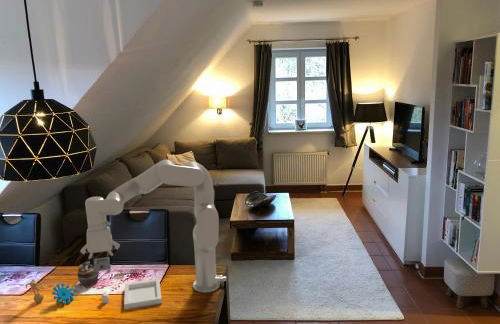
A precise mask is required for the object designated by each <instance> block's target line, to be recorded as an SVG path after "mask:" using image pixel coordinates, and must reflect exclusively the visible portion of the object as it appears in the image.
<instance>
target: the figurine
mask: <svg viewBox="0 0 500 324" xmlns="http://www.w3.org/2000/svg"><path fill="white" fill-rule="evenodd" d="M28 286H29V287H30V289H31V290H33V294H34V296H33V301H34V302H36V303H41V302H42V301H43V300H44V293H41V292H40V288H42V289H45V287H44V286H42V285H41V284H39V283H36V282H35V278H33V279H31V281H30V282H28V283H26V284H25V289H28ZM39 287H40V288H39Z"/></svg>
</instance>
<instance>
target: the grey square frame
mask: <svg viewBox="0 0 500 324" xmlns="http://www.w3.org/2000/svg"><path fill="white" fill-rule="evenodd" d="M111 268H112V265H111V264H110V258H109V256H107V257H100V258H94V264H93V271H94V272H95V271H99V272H101V271H107V270H111Z"/></svg>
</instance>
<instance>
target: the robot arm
mask: <svg viewBox="0 0 500 324" xmlns="http://www.w3.org/2000/svg"><path fill="white" fill-rule="evenodd" d="M162 184H165V185H170V186H177V187H178V186H179V187H187V188H188V187H189V188H193V190H194V193H193V194H194V205H193V206H194V207H193V213H194V217H195V219H196V224H195V225H194V227H193V229H192V238H193V247H194V248H193V249H194V266H195V280H194V282H193V284H192V288H193V290H194V291H196V292H198V293H201V294H202V293H204V294H207V293H211V292H215V291H217V290H218V289H219V288H220V285H221V282H227V277H226V276H223V274H220V275H217V262H216V260H217V259H216V247H217V245H218V243H219V235H220V234H219V230H220V229H219V223H220V221H219V219H220V217H219V213H218V210H217V209H216V207H215V204H214V203H215V202H214V201H215V200H214V197H215V195H214V183H213V179H212V176H211V175H210V172H209V171H208V169H207V168H205V166H203V165H202V164H201V163H198V162H196V161H188V162H186V163H185V164H184V165H176V164H175V163H174V162H173V161H172V160H170V159H162V160H160V161H159V162H157V163H155V164H154V165H152V166H151V167H150V168H148V169H147V170H145V171H144V172H142V173H141V174H139V175H137V176H135V177H134V178H132V179H129V180H127V181H126V182H124V183H122V184H121V185H119V186H117V187H116V188H115V189H113V190H111V191H110V192H109V193H108V194H107V196H106V198H105V199H104V197H102V196H91V197H88V198H87V199H86V200H85V201H84V203H85V205H84V206H85V212H86V220H87V230H86V244H85V245H84V246H82V248H81V249H80V253H81V254H83V255H84V256H85V257H86V258H88V260H89V262H90V265H92V267H93V264H94V259H95V257H94V254H95V253H103V252H107V253H108V254H109V255H108V257H109V258H110V264H111V266H112V265H113V262H115V260H114V255H115V254H116V252H118V251H117V250H118V249H120V246H121V244H120V243H118V242H116V241H115V240H113V236H112V232H111V228H110V226H111V224H112V223H111V221H108V220H107V216H117V215H120V214H121V213H122V212H123V210H124V204H125V203H126V202H128V201H129V200H131V199H132V198H135V197H136V196H139V195H146V194H149V193H151V192H152V191H154V190H155V189H157V188H158V187H159V186H161V185H162ZM113 246H114V247H113ZM86 250H87V251H86Z"/></svg>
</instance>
